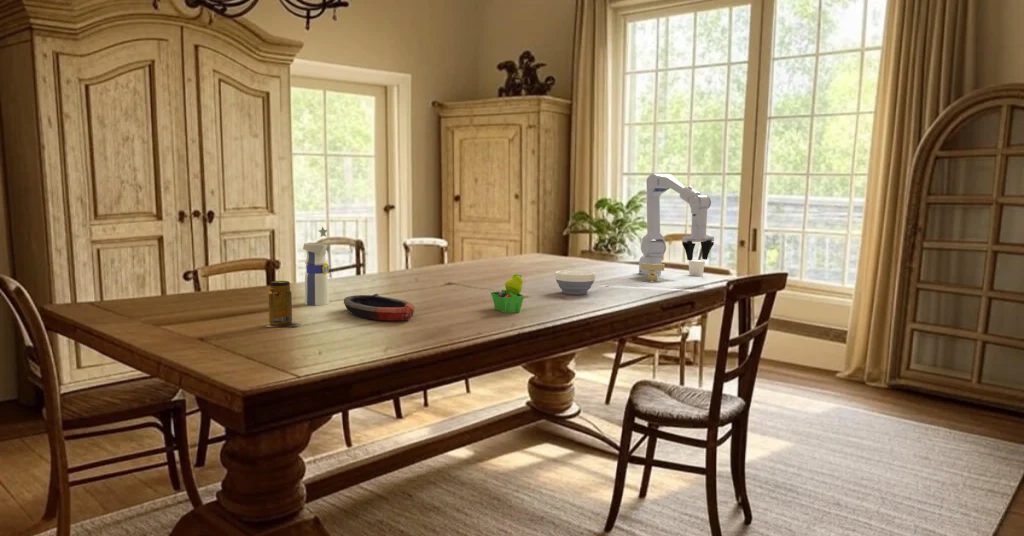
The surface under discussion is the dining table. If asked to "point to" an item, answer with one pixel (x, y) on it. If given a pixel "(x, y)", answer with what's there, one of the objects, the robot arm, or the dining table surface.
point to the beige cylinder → (696, 267)
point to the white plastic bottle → (316, 273)
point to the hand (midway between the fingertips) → (697, 259)
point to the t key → (652, 270)
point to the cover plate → (652, 280)
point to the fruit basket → (509, 296)
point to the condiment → (280, 305)
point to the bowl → (574, 281)
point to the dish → (379, 307)
